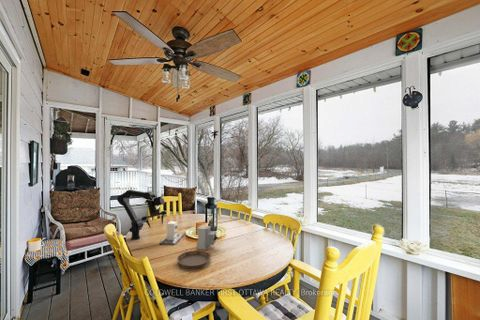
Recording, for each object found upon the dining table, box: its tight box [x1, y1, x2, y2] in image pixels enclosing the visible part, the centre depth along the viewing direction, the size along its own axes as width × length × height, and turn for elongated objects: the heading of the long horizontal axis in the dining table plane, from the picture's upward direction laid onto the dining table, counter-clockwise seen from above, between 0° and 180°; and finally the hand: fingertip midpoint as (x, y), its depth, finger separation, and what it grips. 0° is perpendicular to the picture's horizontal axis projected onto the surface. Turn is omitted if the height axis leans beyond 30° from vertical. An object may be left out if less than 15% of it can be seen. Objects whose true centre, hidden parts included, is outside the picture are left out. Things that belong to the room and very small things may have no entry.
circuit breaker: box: [196, 225, 218, 251], centre depth 160 cm, size 8×14×15 cm, turn 78°
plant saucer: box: [176, 250, 211, 269], centre depth 136 cm, size 21×21×3 cm
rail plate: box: [159, 233, 185, 246], centre depth 175 cm, size 12×20×2 cm, turn 175°
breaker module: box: [166, 220, 178, 240], centre depth 175 cm, size 7×6×13 cm
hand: (156, 226), depth 174 cm, fingers open, 9 cm apart
